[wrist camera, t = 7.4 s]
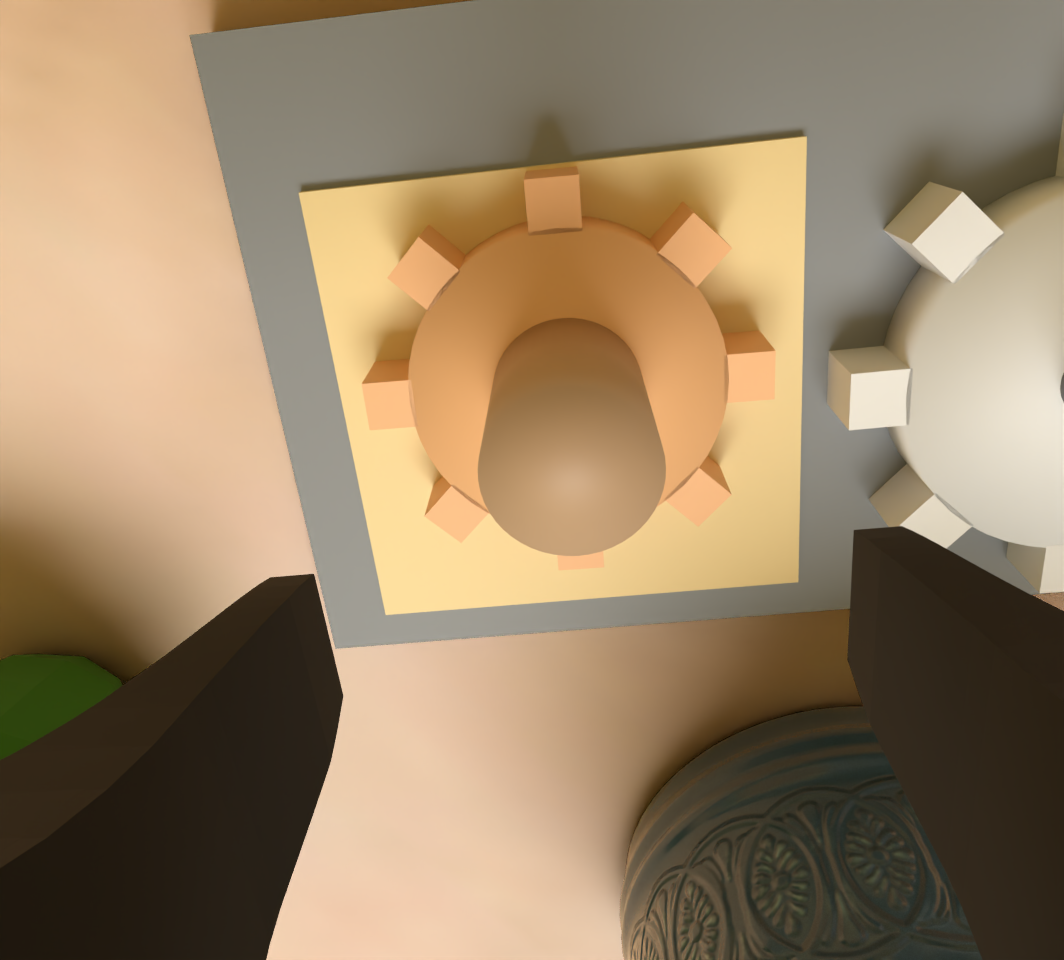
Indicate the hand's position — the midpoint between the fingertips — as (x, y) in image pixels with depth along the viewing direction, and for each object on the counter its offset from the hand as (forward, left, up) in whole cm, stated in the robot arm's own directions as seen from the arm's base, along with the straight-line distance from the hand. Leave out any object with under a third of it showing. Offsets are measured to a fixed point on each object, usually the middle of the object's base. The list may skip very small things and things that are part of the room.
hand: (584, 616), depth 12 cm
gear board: (-4, -1, -10) cm, 11 cm away
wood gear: (0, -1, -8) cm, 8 cm away
